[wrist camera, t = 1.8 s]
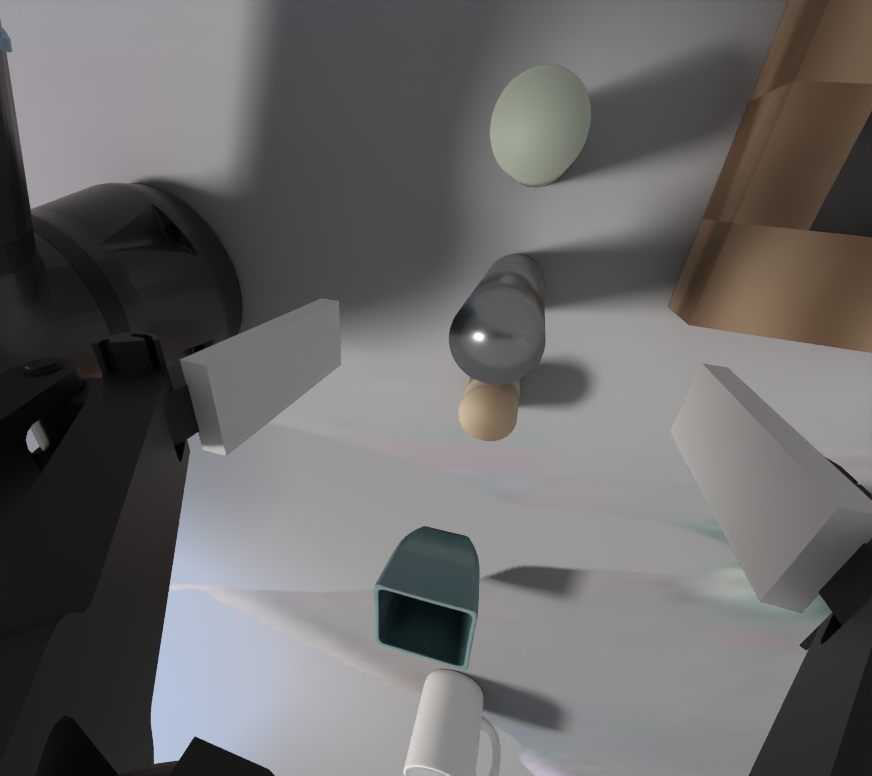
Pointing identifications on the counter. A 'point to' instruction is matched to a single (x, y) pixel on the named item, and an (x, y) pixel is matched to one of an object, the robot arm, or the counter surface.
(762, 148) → the hole board
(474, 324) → the long pin
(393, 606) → the flower pot
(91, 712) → the robot arm
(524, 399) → the counter surface
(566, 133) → the medium pin
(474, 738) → the cup
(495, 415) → the short pin
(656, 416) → the counter surface
